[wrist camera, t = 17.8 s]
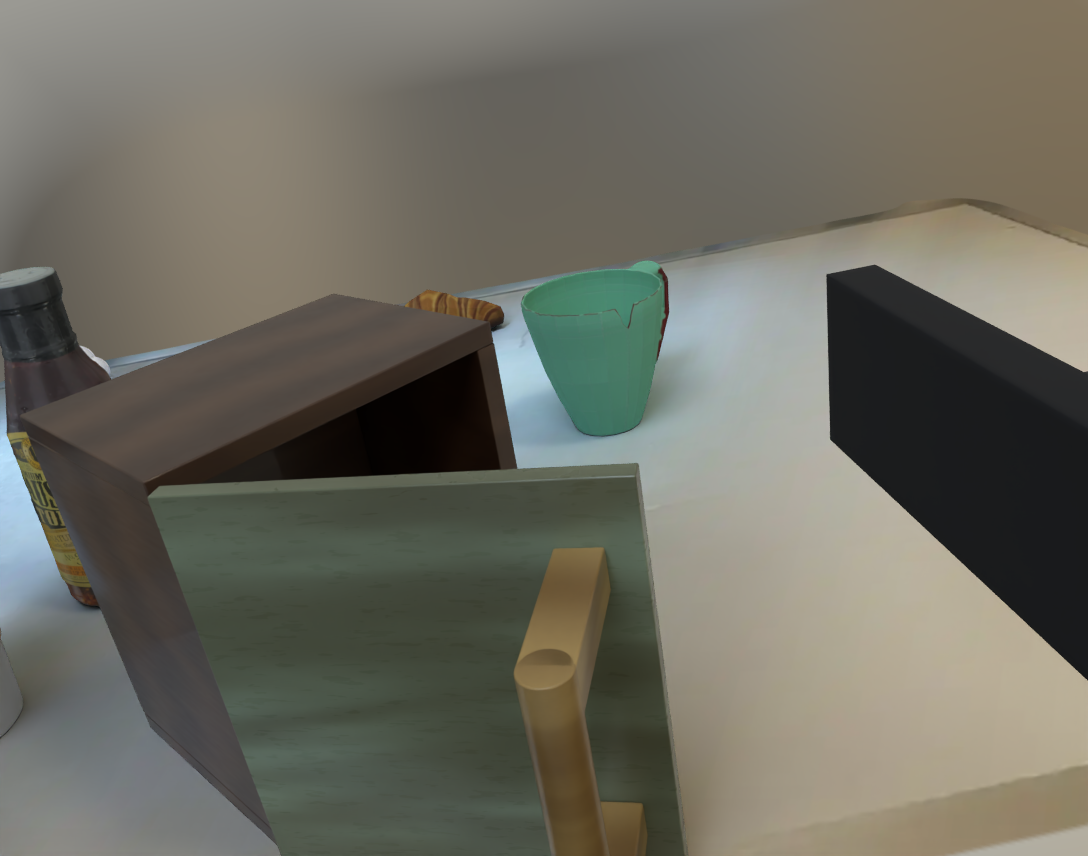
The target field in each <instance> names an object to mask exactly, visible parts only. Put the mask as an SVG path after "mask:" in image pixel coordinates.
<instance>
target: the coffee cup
mask: <svg viewBox="0 0 1088 856" xmlns="http://www.w3.org/2000/svg"><path fill="white" fill-rule="evenodd" d="M22 707H23V697H22V694H21V692H20V689H19V686H18V683H17V681H16V678H15V675H14V673H13V670H12V667H11V665H10V662H9V659H8V656H7V654H6V651H5V648H4V646H3V643H2V640H1V629H0V737H1V736H2V735H4V734H5V733H6V732H7V731H8V730H9V728H10V727H11V726H12V725H13V724H14V722H15V721H16V720H17V718H18V716H19V715H20V713H21V710H22Z"/></svg>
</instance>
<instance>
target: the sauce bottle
mask: <svg viewBox="0 0 1088 856" xmlns="http://www.w3.org/2000/svg"><path fill="white" fill-rule="evenodd" d="M62 289H63V288H62V286H61V283H60V280H59V278H58V276H57V273H56V271H55V269H54V268H51V267H32V268H25V269H19V270H14V271H10V272H7V273H3V274H0V346H1V348H2V355H3V357H4V367H5V392H6V415H7V436H8V439H9V441H10V444H11V447H12V449H13V453H14V455H15V457H16V459H17V462H18V465H19V467H20V470H21V473H22V476H23V479H24V481H25V484H26V487H27V488H28V491H29V493H30V496H31V501H32V503H33V505H34V508H35V511H36V513H37V515H38V518H39V520H40V522H41V525H42V528H43V530H44V533H45V535H46V538H47V541H48V543H49V546H50V548H51V551H52V553H53V556H54V558H55V561H56V564H57V567H58V569H59V572H60V575H61V577H62V579H63V580H64V581H65V582H66V584H67V586H68V588H69V590H70V593H71V595H72V596H73V597H74V598H75V599H76V600H78V601H80V602H81V603H83V604H86V605H89V606H99V604H98V602H97V599H96V597H95V595H94V592H93V590H92V588H91V585H90V583H89V580H88V578H87V576H86V573H85V571H84V569H83V566H82V564H81V561H80V559H79V557H78V554H77V552H76V550H75V547H74V545H73V543H72V540H71V538H70V535H69V533H68V531H67V528H66V526H65V524H64V521H63V519H62V516H61V514H60V512H59V509H58V507H57V505H56V502H55V500H54V497H53V495H52V493H51V490H50V488H49V486H48V483H47V481H46V479H45V476H44V474H43V471H42V469H41V467H40V464H39V462H38V460H37V457H36V455H35V452H34V450H33V448H32V445H31V443H30V441H29V438H28V437H29V436H28V435H27V433H26V431H25V428H24V426H23V424H22V421H21V419H20V415H21V414H24V413H27V412H29V411H32V410H34V409H37V408H39V407H42V406H45V405H47V404H50V403H52V402H55V401H58V400H60V399H63V398H65V397H68V396H70V395H73V394H76V393H78V392H81V391H83V390H86V389H89V388H91V387H94V386H96V385H99V384H101V383H104V382H107V381H109V380H111V378H110V376H109V374H108V373H107V372H106V370H105V369H104V368H102V367H101V366H100V365H99V364H98V363H97V362H96V361H93V360H92V359H91V358H90V357H89V356H88V355H87V354H86V353H85V352H84V351H83V349H82V348H81V347H80V346H79V345H78V342H77V337H76V334H75V333H74V332H73V331H72V327H71V325H70V322H69V319H68V316H67V313H66V310H65V307H64V304H63V302H62Z"/></svg>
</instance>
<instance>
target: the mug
mask: <svg viewBox="0 0 1088 856" xmlns="http://www.w3.org/2000/svg"><path fill="white" fill-rule="evenodd" d="M521 307H522V312H523V316H524V319H525V322H526V324H527V327H528V329H529V332H530V334H531V337H532V339H533V342H534V345H535V347H536V350H537V352H538V354H539V357H540V359H541V362H542V364H543V367H544V369H545V372H546V374H547V376H548V378H549V380H550V381H551V383H552V385H553V387H554V389H555V391H556V393H557V395H558V397H559V399H560V401H561V402H562V404H563V406H564V407H565V409H566V411H567V412H568V414H569V415H570V417H571V419H572V420H573V422H574V424H575V425H576V427H577V428H578V430H579V431H581V432H583V433H585V434H589V435H594V436H607V435H615V434H618V433H622V432H626V431H628V430H630V429H632V428H634V427H635V426H637V425H638V424H639V423H640V421H641V419H642V416H643V412H644V409H645V406H646V402H647V399H648V395H649V392H650V388H651V383H652V378H653V373H654V368H655V364H656V362H657V360H658V357H659V352H660V348H661V344H662V340H663V336H664V331H665V327H666V323H667V319H668V315H669V301H668V279H667V276H666V275H665V273H664V271H663V270H662V268H661V266H660V265H659V264H657V263H655V262H652V261H641V262H638V263H636V264H635V265H633V266H632V267H630V268H629V269H607V270H596V271H589V272H582V273H577V274H572V275H568V276H563V277H560V278H557V279H554V280H551V281H548V282H545V283H543V284H541V285H539V286H537V287H535V288H533V289H531V290H530V291H529V292H528V293H527V294H526V295H524V296H523V299H522V302H521Z"/></svg>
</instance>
